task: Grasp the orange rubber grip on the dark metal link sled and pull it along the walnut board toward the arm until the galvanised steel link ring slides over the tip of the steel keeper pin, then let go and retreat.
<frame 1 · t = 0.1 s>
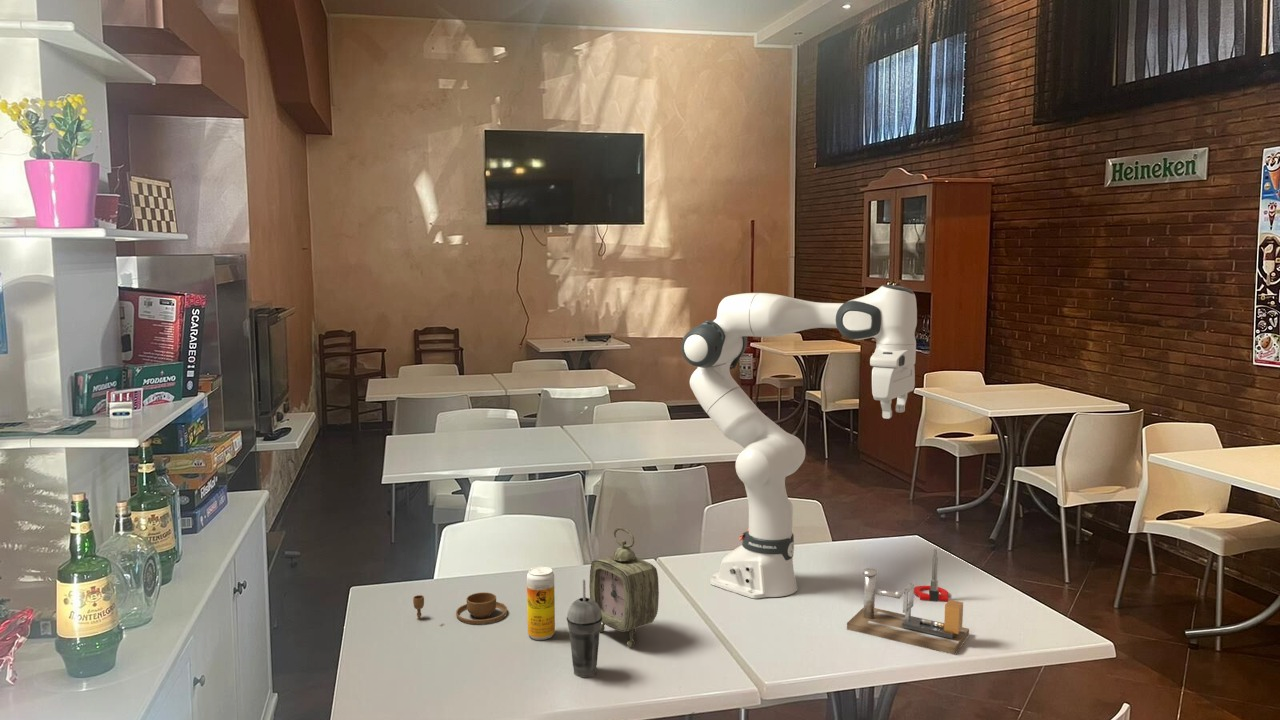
hand: (893, 415, 209), 48 cm above the table, fingers open, 8 cm apart
beverage cup: (584, 673, 184), on the table
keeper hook: (868, 623, 208), resting on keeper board
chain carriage: (932, 610, 200), point 6 cm above the table, slide at 0.0 cm
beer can: (541, 636, 202), on the table
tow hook: (930, 595, 226), on the table
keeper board: (907, 632, 203), on the table
tabletop clock: (625, 637, 201), on the table
place setting: (466, 616, 215), on the table
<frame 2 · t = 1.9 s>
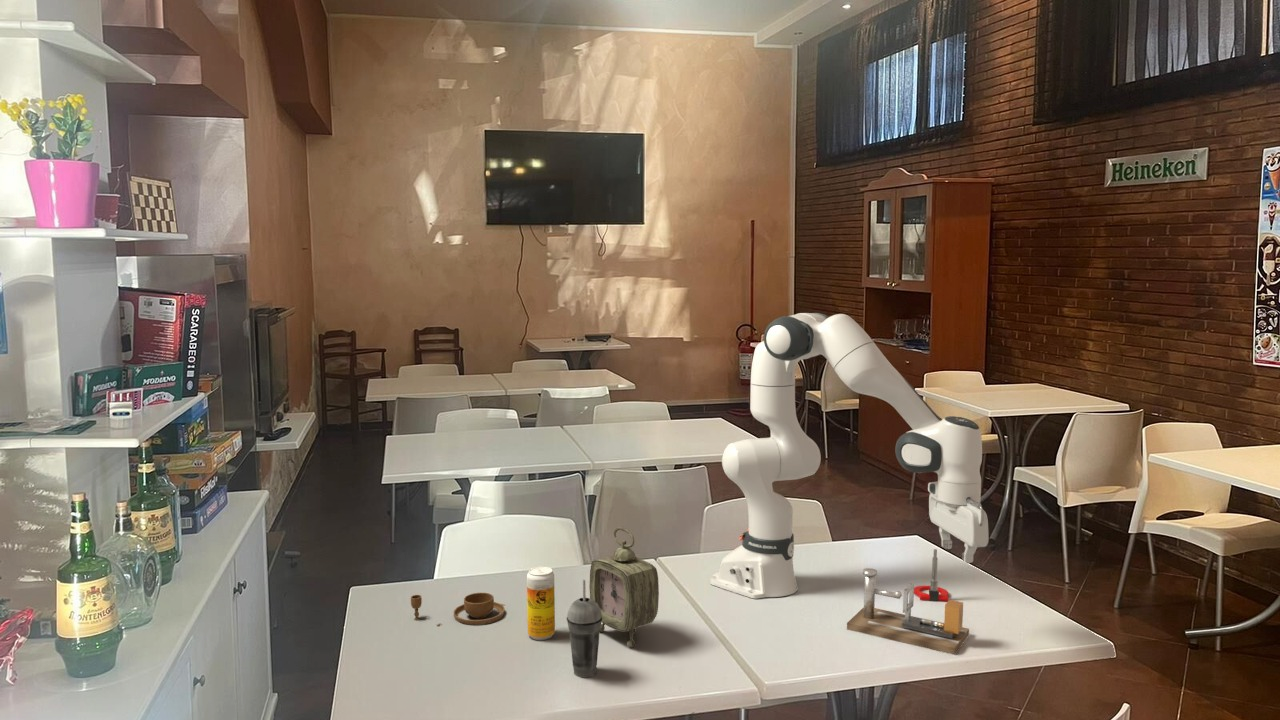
hand: (956, 554, 196), 20 cm above the table, fingers open, 8 cm apart
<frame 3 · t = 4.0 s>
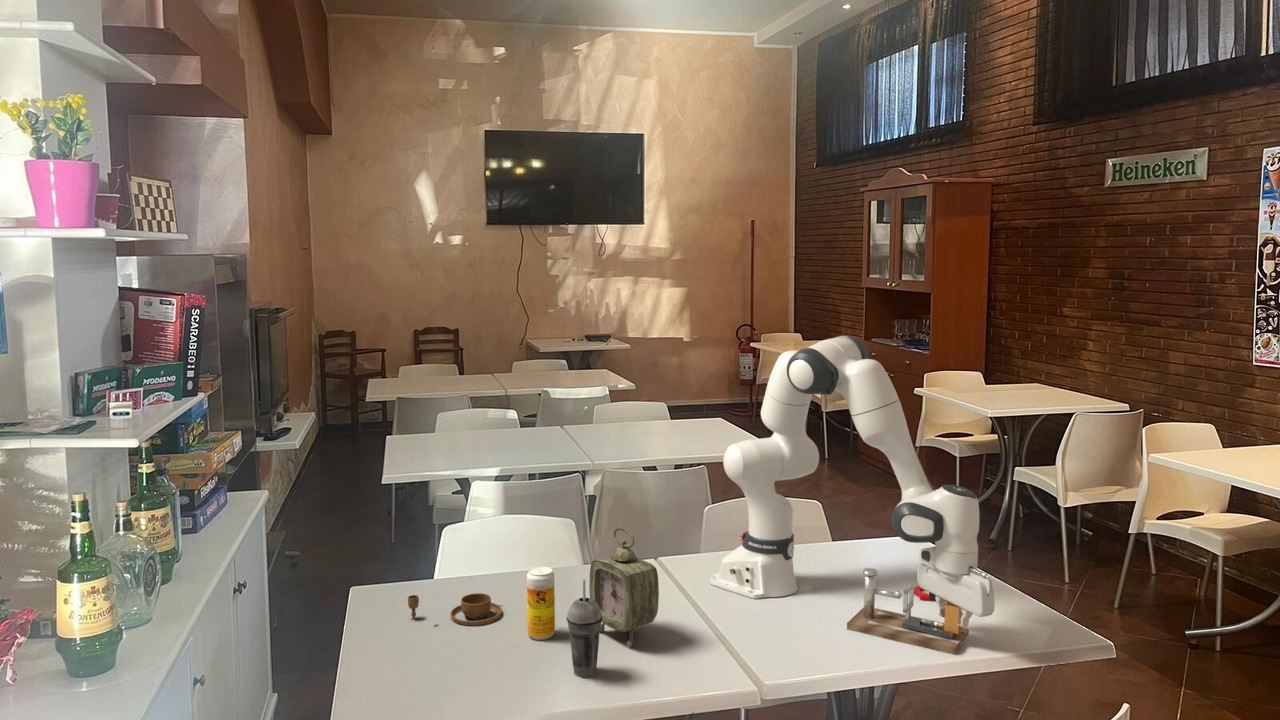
hand: (953, 621, 197), 5 cm above the table, fingers closed on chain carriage, 4 cm apart
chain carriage: (933, 610, 200), point 6 cm above the table, slide at 0.0 cm, touching gripper
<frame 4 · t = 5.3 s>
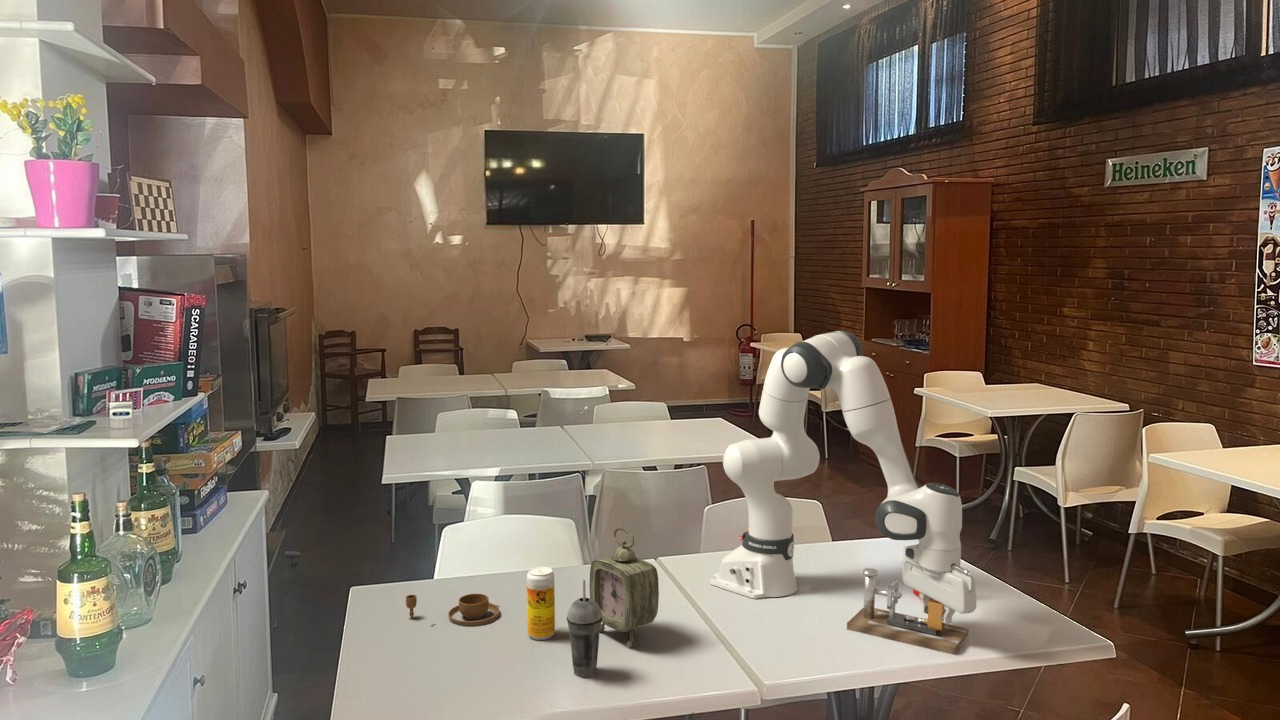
hand: (936, 617, 199), 5 cm above the table, fingers closed on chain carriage, 4 cm apart
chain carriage: (916, 607, 202), point 6 cm above the table, slide at 3.6 cm, touching gripper
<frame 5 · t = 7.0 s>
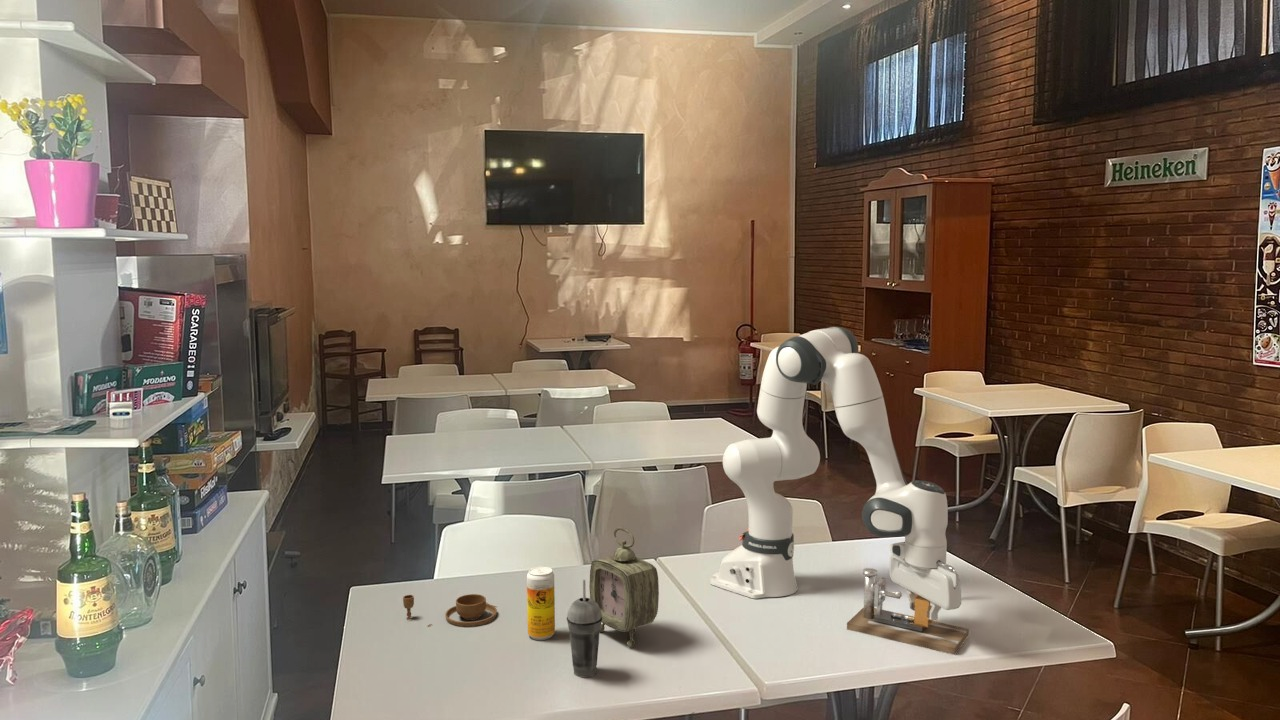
hand: (923, 614, 201), 5 cm above the table, fingers closed on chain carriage, 4 cm apart
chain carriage: (903, 604, 203), point 6 cm above the table, slide at 6.5 cm, touching gripper
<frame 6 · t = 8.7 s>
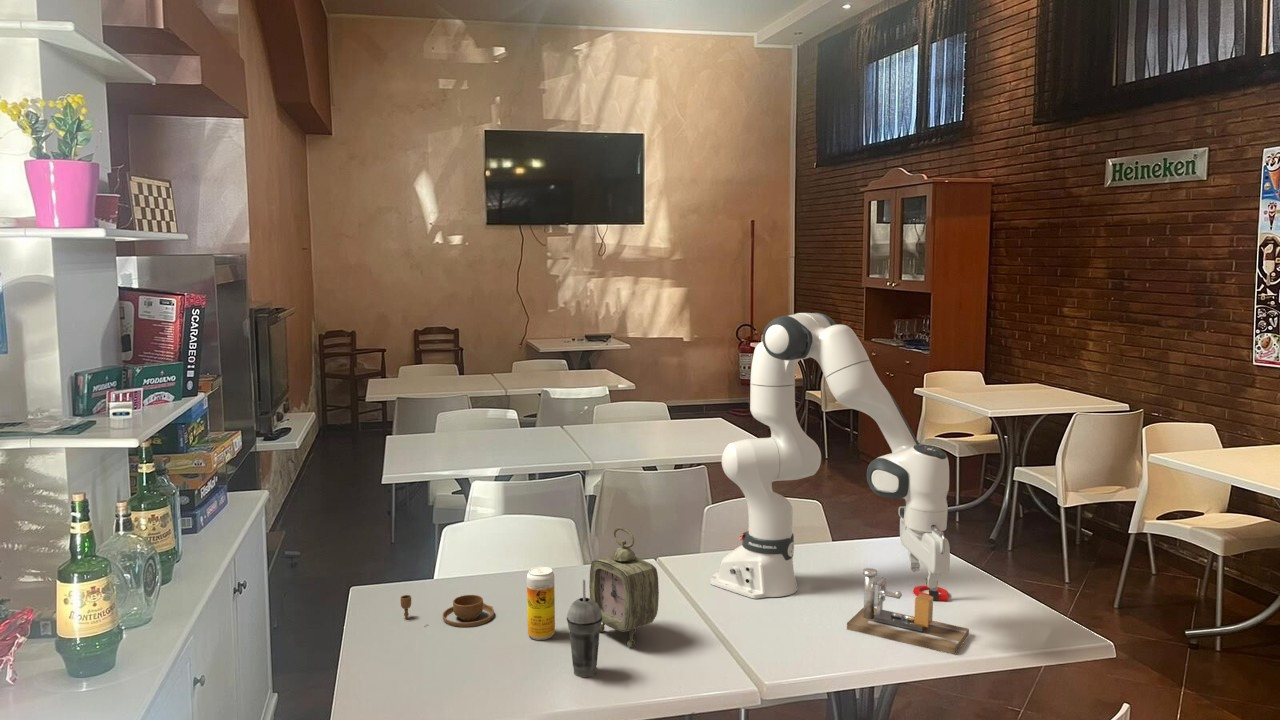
hand: (922, 578, 201), 13 cm above the table, fingers open, 8 cm apart
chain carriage: (903, 604, 203), point 6 cm above the table, slide at 6.5 cm
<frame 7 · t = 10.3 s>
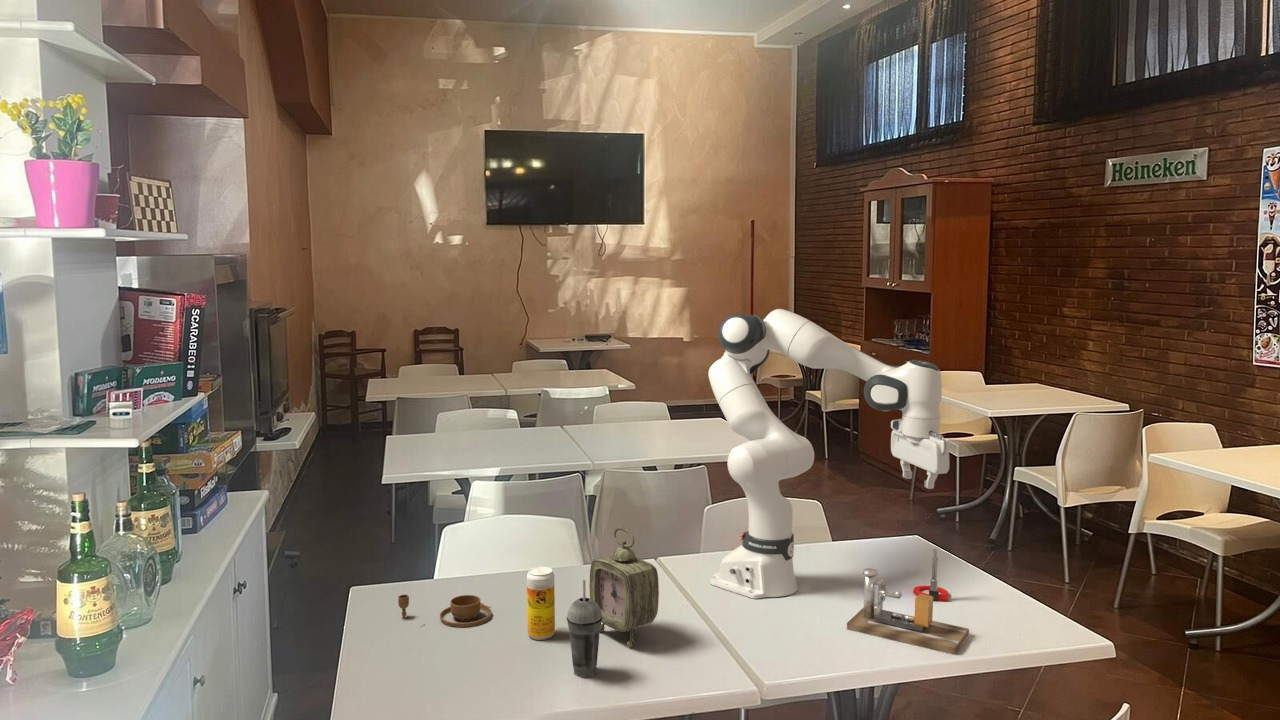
hand: (917, 483, 220), 29 cm above the table, fingers open, 8 cm apart
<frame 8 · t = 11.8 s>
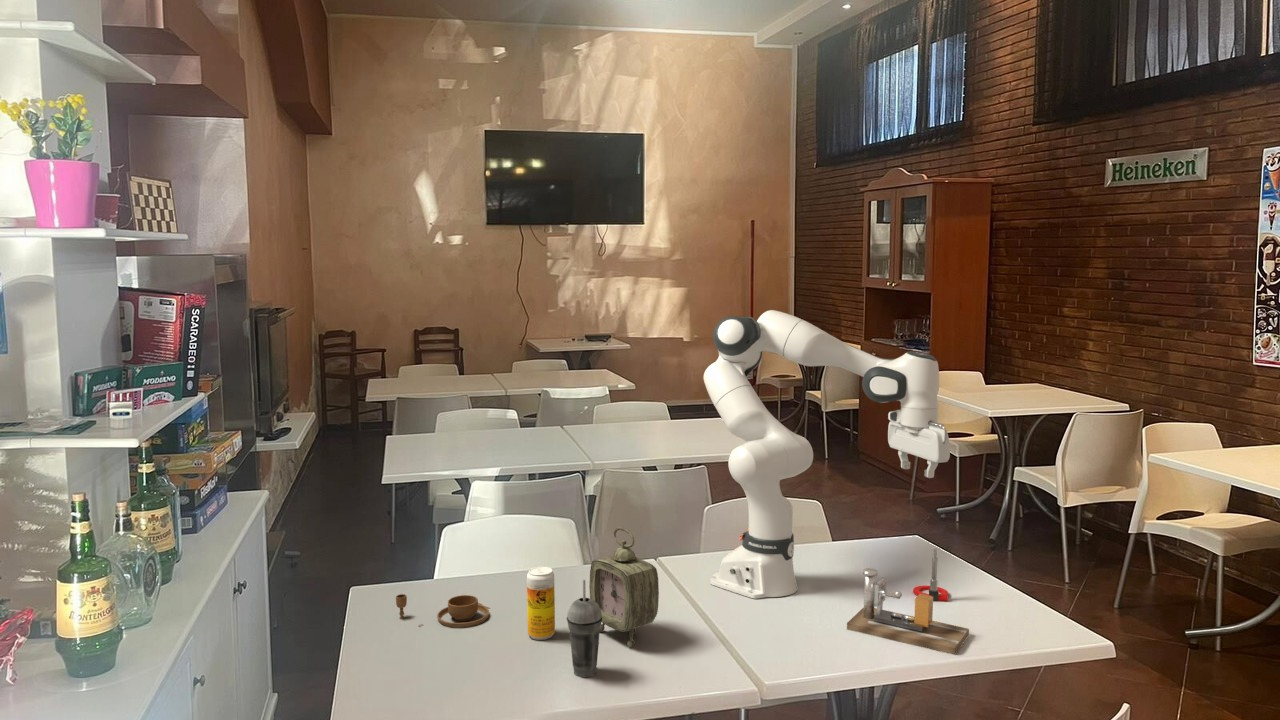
hand: (917, 472, 223), 31 cm above the table, fingers open, 8 cm apart
at the end: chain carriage slide at 6.5 cm; the gripper is holding nothing; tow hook moved 0.4 cm from its start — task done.
